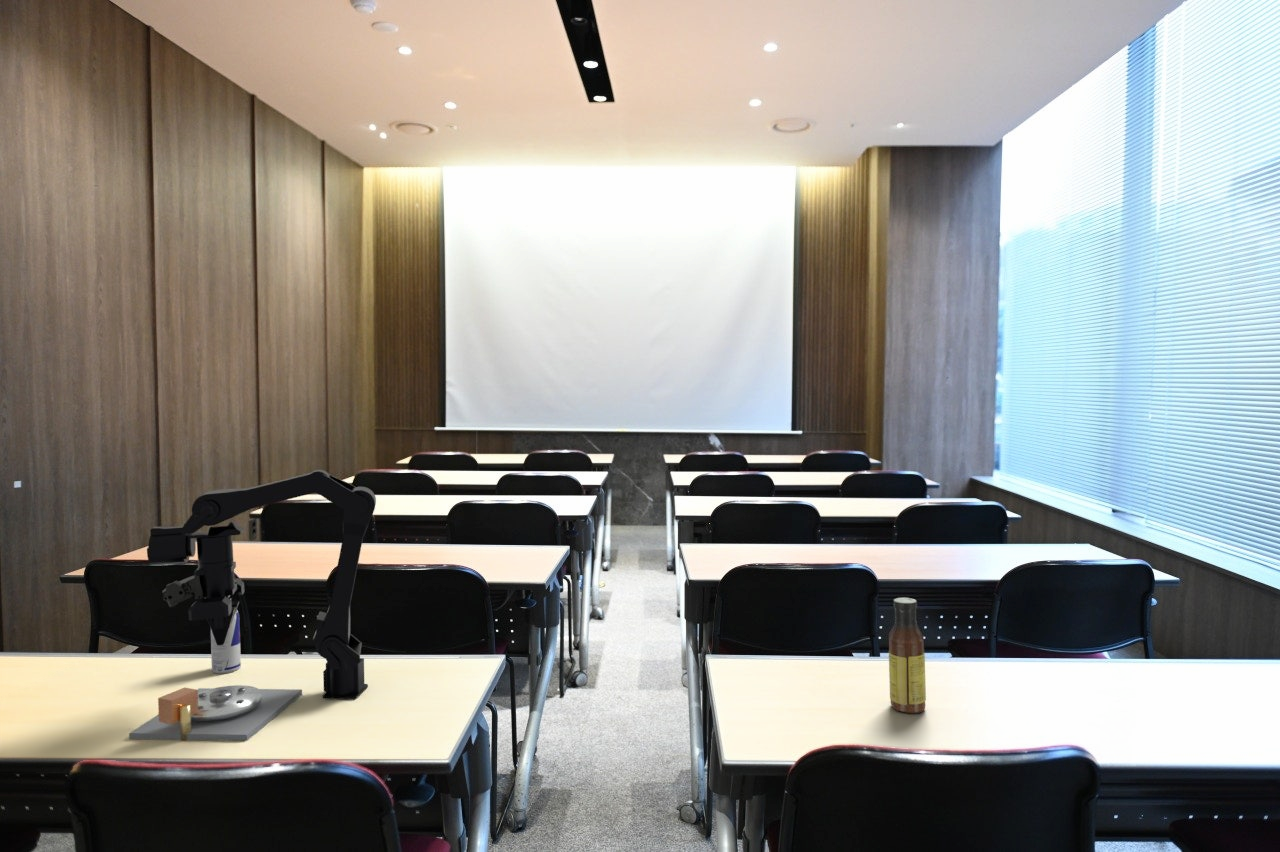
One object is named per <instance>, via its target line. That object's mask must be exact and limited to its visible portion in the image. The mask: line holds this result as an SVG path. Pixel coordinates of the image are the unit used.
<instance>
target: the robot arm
mask: <svg viewBox="0 0 1280 852" xmlns="http://www.w3.org/2000/svg"><path fill="white" fill-rule="evenodd" d="M315 493H316V494H318V495H320V496H321V497H322V498H325V499H326V500H327V501H329V502H331V503H332V504H333V505H335V506H337V507H339V508H341V509H342V540H341V541H342V542H341V546H340V552H339V557H338V561H337V565H336V571H335V577H334V582H333V587H332V592H331V593H332V594H331V598H330V603H329V606H328V609H327V612H323V611H319V613H318V615H317V618H316V624H315V625H316V628H315V629H316V630H315V631H314V635H313V638H312V642H315V650H316V653H317V654H318V655H319V656H320V657H322V659H325V660H326V663H325V669H324V670H323V672H322V673H323V674H322V675H323V677H322V678H323V692H324V694H322V699H329V700H330V699H333V700H335V699H337V700H340V699H343V700H352V699H353V700H355V699H357V698H358V697H359V696H360V695H361V694H362V693H363V692H364V691H365V690H366V689H368V687H369V684H368V683H365V658H363V657H362V658H361V651H362V644H363V643H362V641H360V640H359V639H358V638H357V637H356V636H354V635H353V634H351V601H352V597H353V591H354V588H355V587H354V585H355V580H356V576H357V570H358V565H359V561H360V555H361V550H362V545H363V539H364V537H365V535H366V532H367V529H368V527H369V524H370V521H372V517H373V514H374V513H375V509H376V503H377V497H376V494H374V491H373V490H372V489H370V488H369V487H366V486H357V487H356V486H354V485H353V484H351V483H350V482H349V483H348V482H347V481H344V480H343V479H340V478H338V477H336V476H333V475H332V474H331V473H329V472H327V471H326V470H324V469H315V470H313V471H311V472H309V473H304V474H300V475H297V476H292V477H289V478H285V479H284V478H283V479H281V480H276V481H273V482H268V483H264V484H260V485H256V486H252V487H244V488H225V489H214V490H210V491H207V492H206V493H204V494H202V495H200V496H198V497H197V498H196V499H195V501H194V502H193V504H192V506H191V516H190V517H189V518H188V519H187V521H185V522H184V525H178V526H161V525H159V526H153V527H152V528H150V530H149V531H150V533H149V534H150V536H149V538H148V543H147V544H148V546H147V548H146V554H147V561H148V564H149V565H150V566H153V567H154V566H163V565H165V566H166V565H173V564H174V565H175V564H187V563H188V562H189V560H190V558H193V557H195V555H196V553H197V568H196V569H195V570H194V572H193V575H192V576H189V577H185V578H184V579H182V580H179V581H178V580H175V581H173V582H172V583H168V584H166V585H165V586H166V587H165V588H164V589H163V590H162V595H163V597H162V600H163V601H164V602H167V604H168V606H169V607H170V608H173V607H175V606H176V605H178V603H182V602H184V601H185V600H188V599H191V598H193V597H194V600H195V602H193V603H192V605H191V606H190V607H189V608H188V609H187V610H188V621H192V622H193V621H201V620H202V621H203V620H206V621H207V623H208V624H209V627H210V631H211V630H212V633H213V635H214V638H215V641H216V644H217V645H223V644H224V643H225V640H226V637H227V635H228V632H229V629H230V626H231V624H232V621H233V618H234V615H235V612H236V610H238V606H239V604H240V600H232V597H231V596H233V595H234V594H236V593H238V596H243V595H244V593H245V582H244V581H242V580H241V579H240V578H235V569H236V568H237V566H236V565H237V563H236V562H237V561H234V548H233V547H234V546H233V536H239V535H241V534H242V533H243V532H244V530H245V528H243V527H242V526H241V525H239V524H237V523H236V521H235V520H231V521H230V522H229V524H228V525H218V524H220V523H223V522H225V521H227V520H229V519H232V518H234V517H236V516H238V515H240V514H243V513H245V512H247V511H249V510H252V509H256V508H259V507H260V508H261V507H263V506H268V505H271V504H275V503H280V502H283V501H286V500H291V499H295V498H299V497H303V496H307V495H310V494H315ZM216 525H218V526H216ZM204 526H205V527H209V526H210V527H209V530H208V531H201V532H197V531H199V530H200V529H201V528H203V527H204ZM196 549H197V550H196ZM196 551H197V552H196Z"/></svg>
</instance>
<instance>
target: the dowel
mask: <svg viewBox="0 0 1280 852" xmlns="http://www.w3.org/2000/svg"><path fill="white" fill-rule="evenodd" d="M190 732H191V705H190V704H184V705H181V706H180V734H181V740H180V741H188V740H187V734H188V733H190Z"/></svg>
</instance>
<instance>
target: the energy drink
mask: <svg viewBox="0 0 1280 852" xmlns="http://www.w3.org/2000/svg"><path fill="white" fill-rule="evenodd" d="M240 624H241V623H240V613H239V611H238V609H237V610H236V612H235V615H234V618H233V621H232V624H231V626H230V629H229V632H228V635H227V637H226V640H225V643H224V644H223V645H217V644H216V641H215V638H214V635H213V633H212V630H211V629H210V651H211V653H210V655H211V657H210V659H211V671H212V672H213V673H214V674H217V675H218V674H219V675H223V674H224V675H225V674H230V673H234V672H236V671H238V670H240V668H241V667H242V663H241V661H242V659H241V627H240V626H241V625H240Z"/></svg>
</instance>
